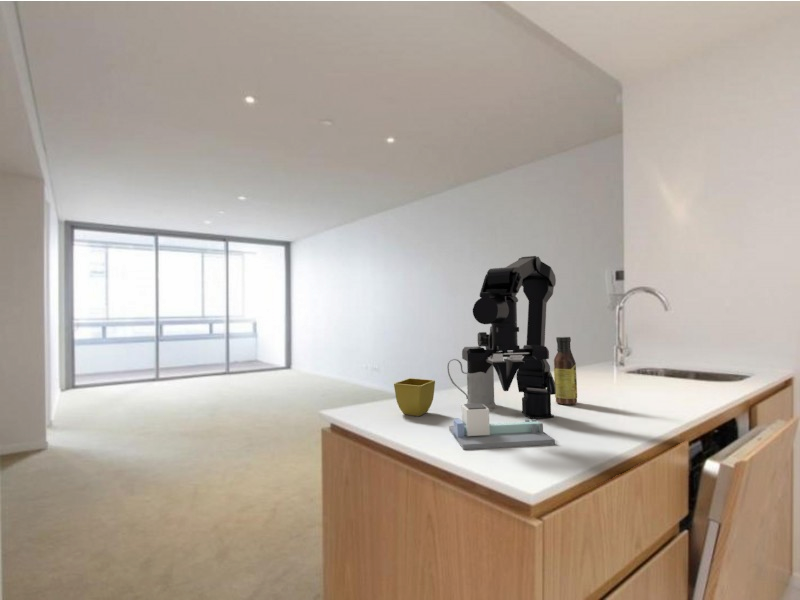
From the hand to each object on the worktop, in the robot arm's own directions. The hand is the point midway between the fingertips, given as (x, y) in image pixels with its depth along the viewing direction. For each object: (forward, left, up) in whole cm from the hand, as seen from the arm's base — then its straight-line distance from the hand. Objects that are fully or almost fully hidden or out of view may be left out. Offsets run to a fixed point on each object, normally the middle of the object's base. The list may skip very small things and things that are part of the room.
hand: (505, 390), depth 98 cm
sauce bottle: (-28, -28, -11) cm, 41 cm away
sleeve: (+7, 0, -9) cm, 12 cm away
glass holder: (0, -31, -11) cm, 33 cm away
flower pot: (+18, -24, -11) cm, 32 cm away
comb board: (+2, 0, -10) cm, 11 cm away
